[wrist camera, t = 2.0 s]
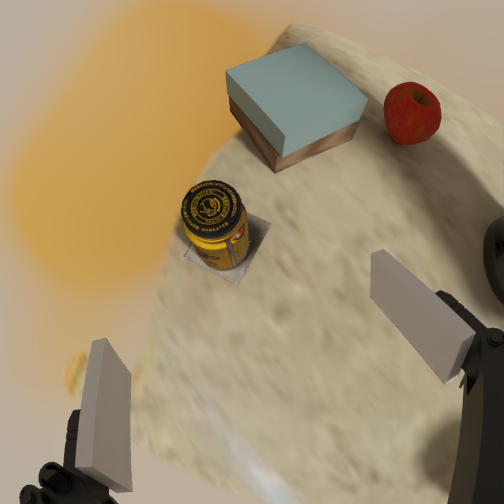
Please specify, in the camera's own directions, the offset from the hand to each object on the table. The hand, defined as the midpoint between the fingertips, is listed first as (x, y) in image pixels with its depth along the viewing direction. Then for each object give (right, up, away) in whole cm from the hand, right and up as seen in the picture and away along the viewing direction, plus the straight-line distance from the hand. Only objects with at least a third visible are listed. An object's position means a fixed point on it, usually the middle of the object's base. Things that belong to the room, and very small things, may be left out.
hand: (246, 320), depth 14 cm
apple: (+22, +21, +28) cm, 41 cm away
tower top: (+6, +23, +24) cm, 34 cm away
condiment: (-3, +4, +24) cm, 24 cm away
